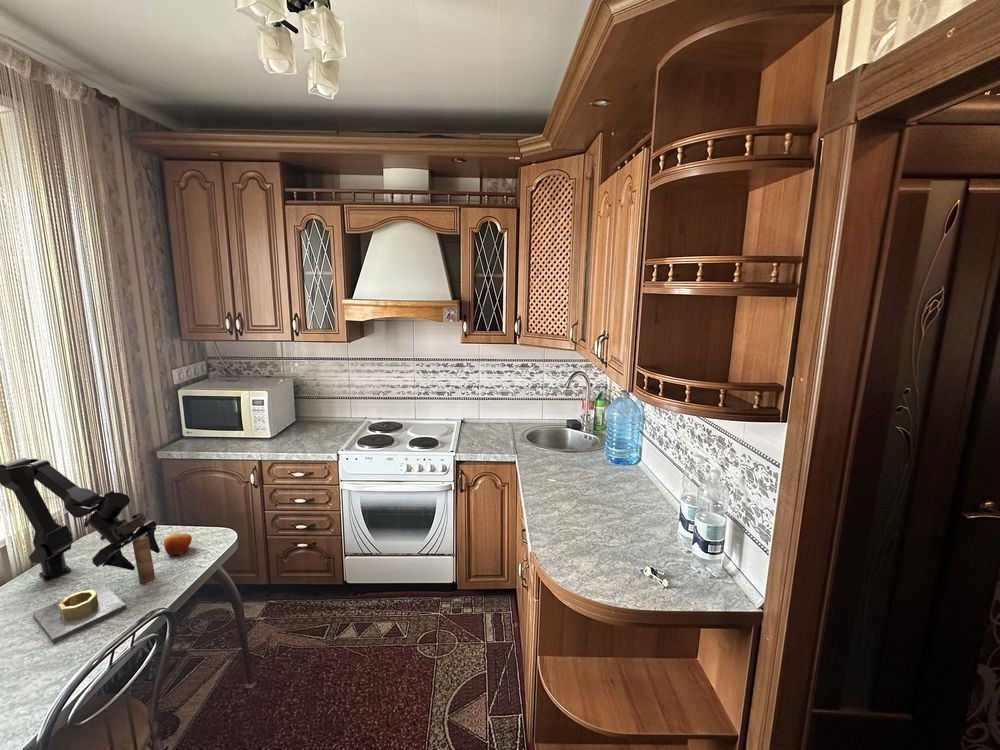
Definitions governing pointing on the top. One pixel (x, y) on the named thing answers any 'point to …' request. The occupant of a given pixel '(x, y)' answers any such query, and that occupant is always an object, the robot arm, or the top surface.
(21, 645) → the top surface
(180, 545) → the fruit
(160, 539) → the top surface
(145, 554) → the rail post
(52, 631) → the cup bracket
